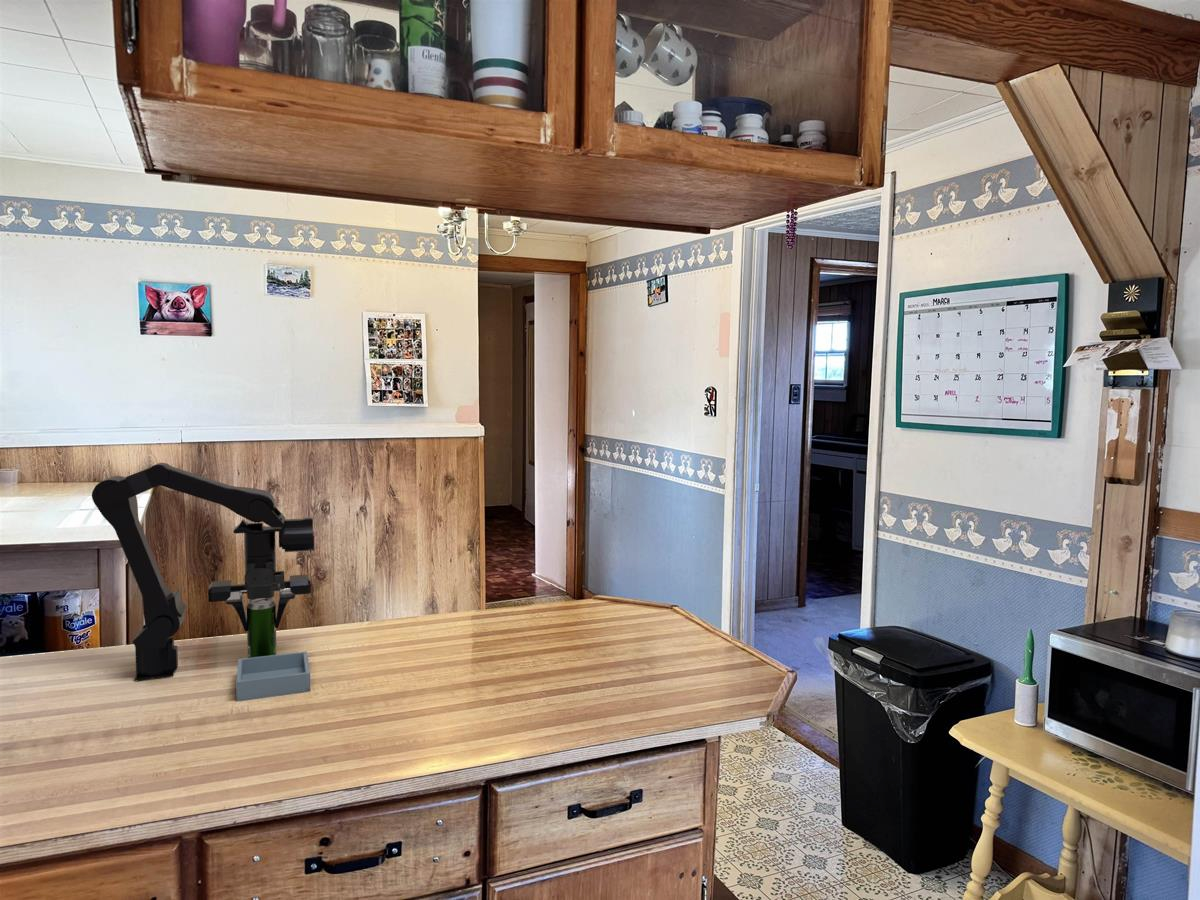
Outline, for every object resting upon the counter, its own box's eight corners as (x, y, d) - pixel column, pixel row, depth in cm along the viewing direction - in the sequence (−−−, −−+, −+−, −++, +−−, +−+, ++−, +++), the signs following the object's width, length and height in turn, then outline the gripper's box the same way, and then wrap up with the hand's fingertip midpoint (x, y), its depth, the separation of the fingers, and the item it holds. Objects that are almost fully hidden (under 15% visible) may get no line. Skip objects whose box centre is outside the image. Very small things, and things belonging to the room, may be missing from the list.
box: (236, 701, 138) (236, 682, 138) (238, 676, 150) (238, 659, 149) (310, 691, 143) (310, 673, 143) (307, 668, 155) (306, 651, 154)
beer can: (253, 665, 153) (252, 606, 152) (243, 658, 157) (242, 600, 156) (280, 659, 157) (279, 601, 156) (270, 651, 161) (269, 595, 160)
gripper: (205, 566, 144) (207, 647, 145) (312, 558, 151) (313, 636, 153) (209, 553, 154) (211, 629, 156) (309, 547, 162) (309, 620, 163)
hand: (261, 629), depth 156 cm, fingers closed on beer can, 5 cm apart
